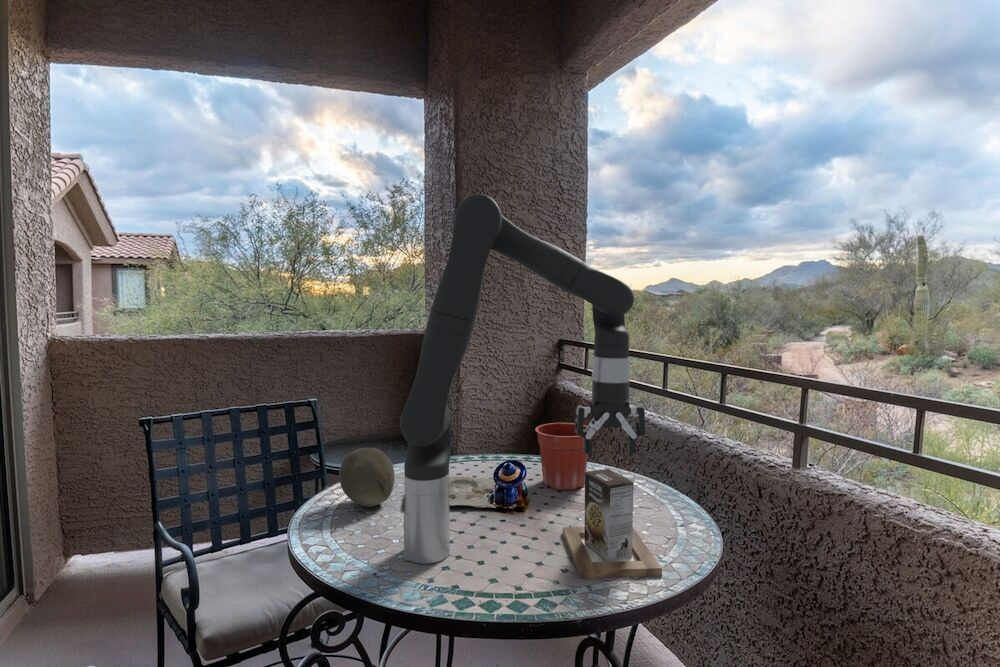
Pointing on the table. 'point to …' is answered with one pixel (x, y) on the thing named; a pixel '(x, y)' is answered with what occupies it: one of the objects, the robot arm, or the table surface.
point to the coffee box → (608, 514)
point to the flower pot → (562, 456)
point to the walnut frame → (599, 568)
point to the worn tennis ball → (367, 476)
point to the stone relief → (464, 497)
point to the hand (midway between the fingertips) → (609, 455)
